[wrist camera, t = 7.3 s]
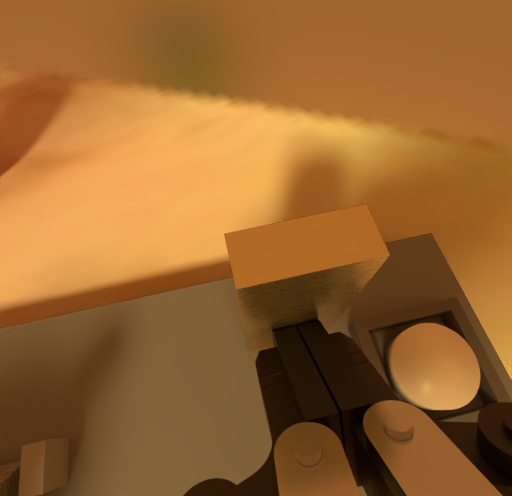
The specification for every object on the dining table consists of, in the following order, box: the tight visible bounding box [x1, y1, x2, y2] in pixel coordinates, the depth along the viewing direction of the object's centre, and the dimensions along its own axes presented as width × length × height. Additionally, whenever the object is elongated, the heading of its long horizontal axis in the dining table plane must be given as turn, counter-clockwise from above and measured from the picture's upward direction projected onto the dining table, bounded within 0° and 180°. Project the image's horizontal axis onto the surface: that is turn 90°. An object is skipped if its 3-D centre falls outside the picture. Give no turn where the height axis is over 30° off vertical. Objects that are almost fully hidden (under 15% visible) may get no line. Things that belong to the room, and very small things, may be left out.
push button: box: [384, 323, 480, 410], centre depth 13 cm, size 3×3×1 cm
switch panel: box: [0, 233, 512, 496], centre depth 14 cm, size 24×12×4 cm, turn 103°
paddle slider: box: [224, 204, 390, 361], centre depth 10 cm, size 3×2×9 cm
